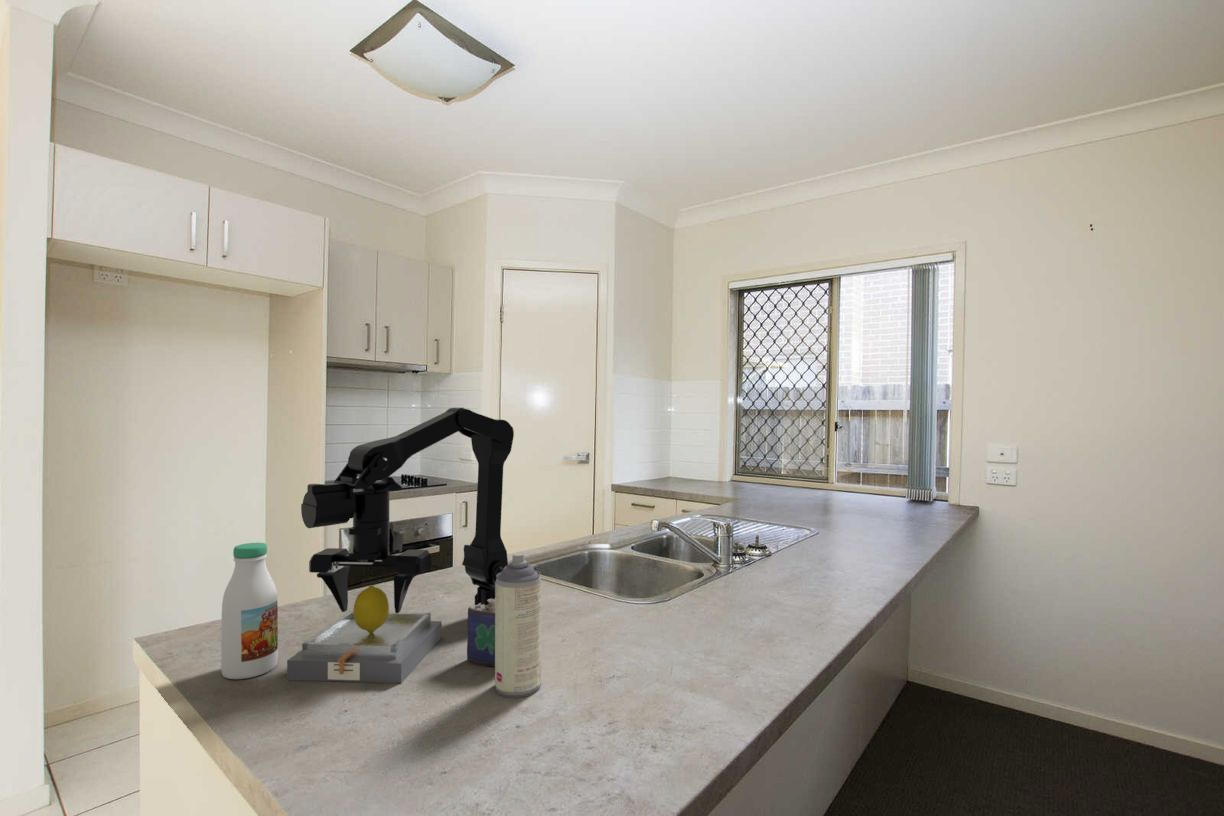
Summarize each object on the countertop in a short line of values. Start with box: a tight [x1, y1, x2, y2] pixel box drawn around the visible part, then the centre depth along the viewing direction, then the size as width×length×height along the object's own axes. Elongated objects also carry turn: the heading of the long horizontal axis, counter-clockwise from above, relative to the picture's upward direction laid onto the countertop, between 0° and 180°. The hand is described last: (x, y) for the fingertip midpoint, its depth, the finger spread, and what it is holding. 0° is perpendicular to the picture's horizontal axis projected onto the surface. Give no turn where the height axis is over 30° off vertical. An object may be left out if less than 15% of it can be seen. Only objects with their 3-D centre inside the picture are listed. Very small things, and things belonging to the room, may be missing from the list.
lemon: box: [352, 585, 390, 633], centre depth 100 cm, size 6×6×8 cm
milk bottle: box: [220, 542, 279, 680], centre depth 95 cm, size 8×8×20 cm
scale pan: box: [301, 610, 432, 674], centre depth 99 cm, size 15×17×4 cm
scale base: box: [286, 620, 443, 684], centre depth 100 cm, size 18×18×3 cm
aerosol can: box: [494, 552, 542, 699], centre depth 90 cm, size 7×7×20 cm
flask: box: [466, 598, 495, 668], centre depth 98 cm, size 9×3×11 cm, turn 74°
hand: (371, 611), depth 100 cm, fingers open, 9 cm apart
